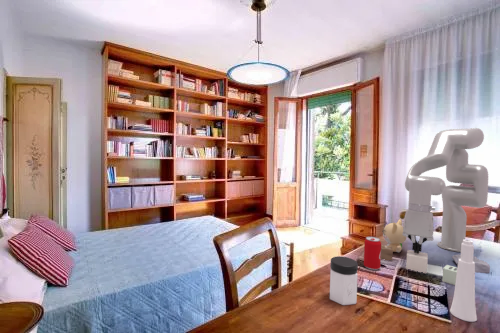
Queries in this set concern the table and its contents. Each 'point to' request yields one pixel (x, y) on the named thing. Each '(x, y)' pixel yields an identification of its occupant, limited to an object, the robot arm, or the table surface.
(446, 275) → the sage cube
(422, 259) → the cream block
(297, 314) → the table surface
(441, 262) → the table surface
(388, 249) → the walnut cube
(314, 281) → the table surface
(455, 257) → the stone block
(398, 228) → the kitten
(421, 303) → the table surface
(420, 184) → the robot arm
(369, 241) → the beverage can
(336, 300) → the jar
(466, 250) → the cosmetic bottle
